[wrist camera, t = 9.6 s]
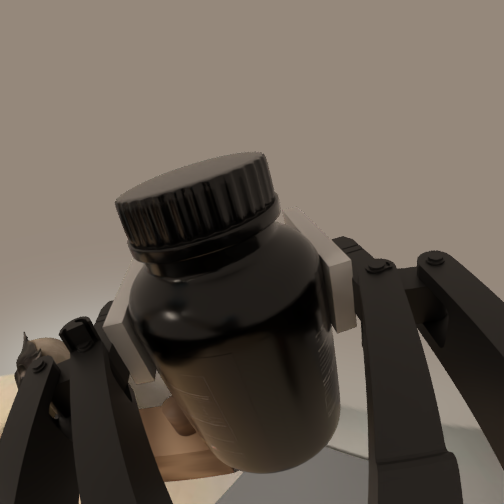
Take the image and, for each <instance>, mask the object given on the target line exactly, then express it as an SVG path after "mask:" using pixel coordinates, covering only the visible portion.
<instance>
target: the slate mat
mask: <svg viewBox="0 0 504 504" xmlns="http://www.w3.org/2000/svg"><path fill="white" fill-rule="evenodd" d="M368 478H369V461H368V460H365V459H362V458H359V457H355V456H352V455H349V454H346V453H343V452H340V451H337V450H334V449H331V448H328V447H324V448H323V449H322V450H321V451H320V452H319V453H318V454H317V455H315V456H314V457H313V458H312V459H310V460H308V461H307V462H305V463H303V464H301V465H299V466H297V467H295V468H292V469H289V470H286V471H282V472H278V473H270V474H255V473H248V472H243V473H242V475H241V476H240V477H239V478H238V479H237V480H236V481H235V483H234V484H233V485H232V486H231V487H230V488H229V489H228V490H227V491H226V492H225V494H224V495H223V496H222V497H221V498H220V499H219V500H218V501H217V502H216V503H215V504H368Z"/></svg>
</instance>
